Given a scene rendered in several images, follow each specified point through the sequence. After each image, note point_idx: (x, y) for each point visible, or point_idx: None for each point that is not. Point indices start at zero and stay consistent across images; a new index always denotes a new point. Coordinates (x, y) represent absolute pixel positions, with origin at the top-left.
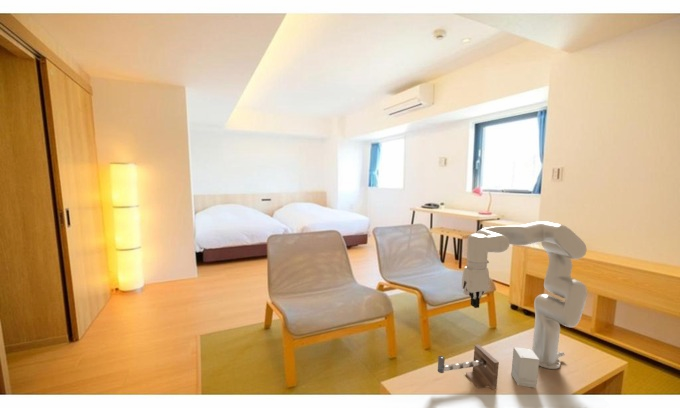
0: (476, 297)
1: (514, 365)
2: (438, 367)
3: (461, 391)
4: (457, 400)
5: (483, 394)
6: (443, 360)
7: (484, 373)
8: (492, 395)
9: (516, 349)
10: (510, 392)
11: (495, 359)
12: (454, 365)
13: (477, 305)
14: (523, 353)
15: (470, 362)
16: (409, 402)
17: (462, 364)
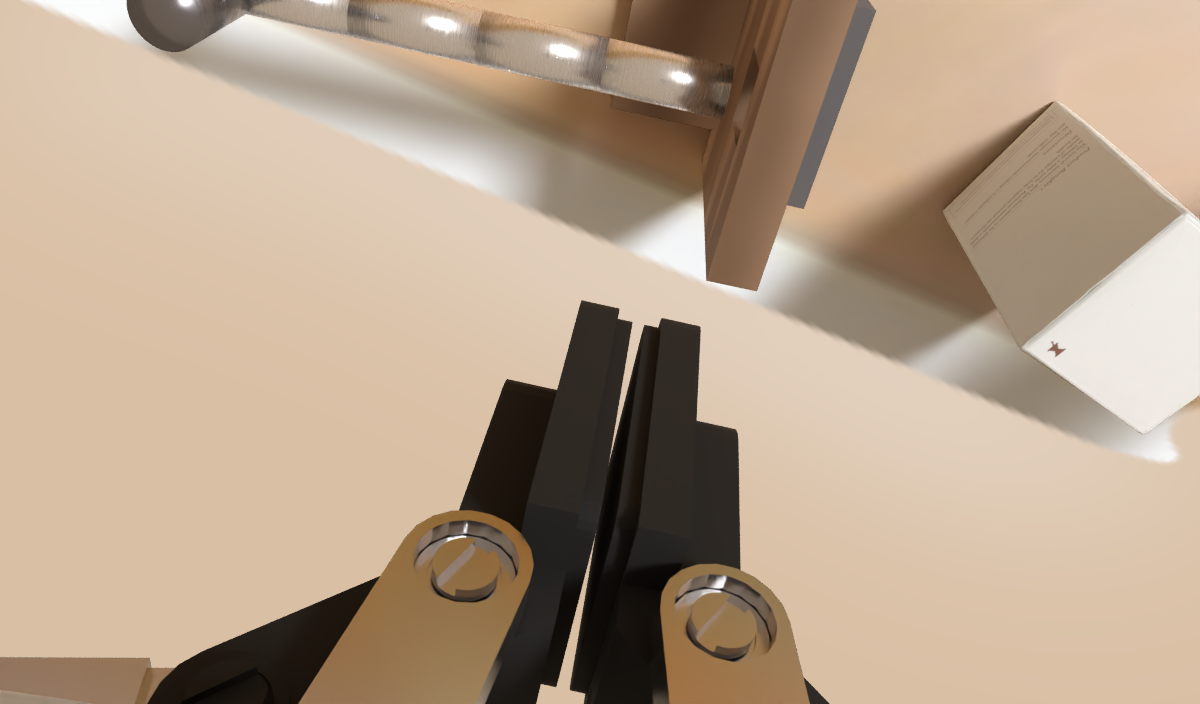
0: (598, 663)
1: (1049, 193)
2: None
3: (455, 66)
4: (362, 120)
5: (598, 161)
6: (178, 48)
7: (732, 89)
8: (654, 196)
9: (1154, 255)
10: (809, 232)
11: (768, 250)
12: (377, 32)
13: (598, 522)
14: (1126, 329)
15: (577, 73)
16: None
17: (473, 56)
